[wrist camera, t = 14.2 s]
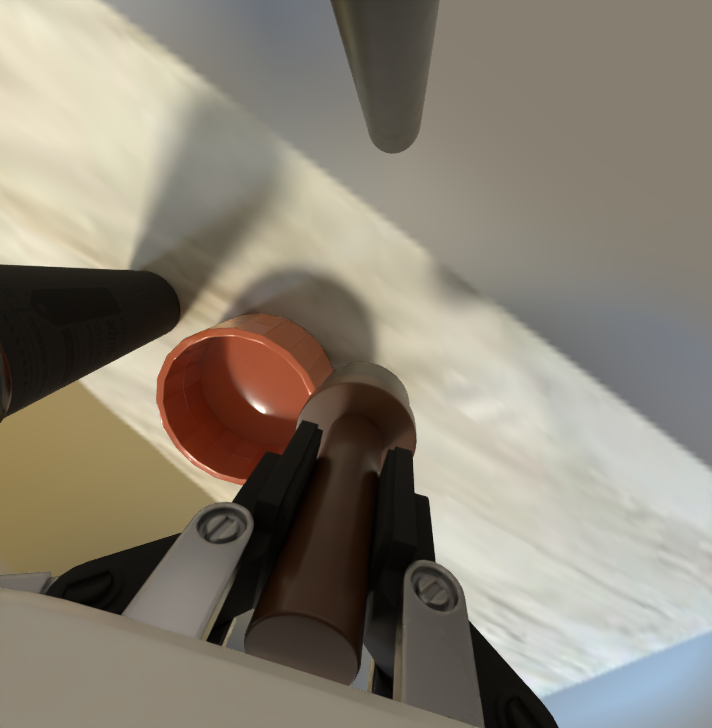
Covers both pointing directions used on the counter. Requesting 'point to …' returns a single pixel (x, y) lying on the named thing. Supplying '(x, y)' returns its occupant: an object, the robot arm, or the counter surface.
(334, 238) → the counter surface
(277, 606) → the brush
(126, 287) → the drinking cup
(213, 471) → the bowl
